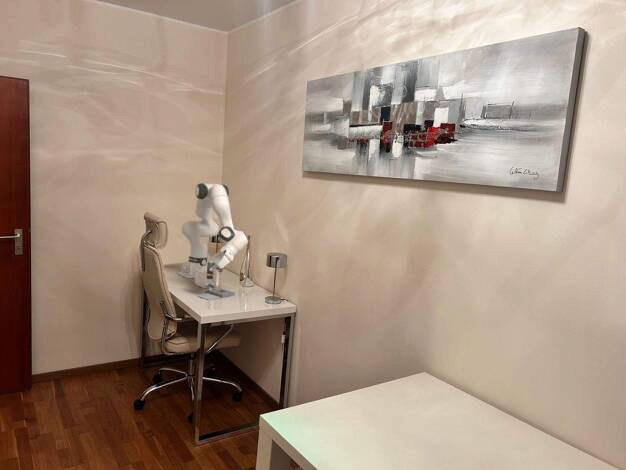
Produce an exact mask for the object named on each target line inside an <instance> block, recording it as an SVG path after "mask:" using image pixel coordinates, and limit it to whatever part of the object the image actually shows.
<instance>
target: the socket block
mask: <svg viewBox="0 0 626 470" xmlns="http://www.w3.org/2000/svg"><path fill="white" fill-rule="evenodd" d="M235 293H236V292H234V291H231V290H227V289H224V288H222V287H221V288H220V287H214V288H213V287H212V288H208V289H206V294H212V295H215V296H218V297H220V298H219V299H224V298H230V297H234V296H235Z"/></svg>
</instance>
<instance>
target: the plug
mask: <svg viewBox="0 0 626 470" xmlns="http://www.w3.org/2000/svg"><path fill="white" fill-rule="evenodd" d="M212 266H214V263H213V261H211V260H207V273H206V275H207V279H213V275H214V273H213V271H210V270H209V269H210V268H211V267H212Z"/></svg>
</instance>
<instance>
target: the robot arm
mask: <svg viewBox="0 0 626 470" xmlns="http://www.w3.org/2000/svg"><path fill="white" fill-rule="evenodd" d="M194 193H195V197H196V198H197V199H196V206H195V210H194V212H195V215H196V216H197V217H198V218H200V219H201V220H200V221H199V220H197V221H196V220H190V221H185V222H183V224H182V225H181V233H182V235H183V236H184V237H186V239H187V240H188V242H189V244H190V245H189V246H190V256H188V261H187V262H185V263H184V264H182V266H181V268H180V269H181V270H180V271H178V272H177V275H180V276H182V277H183V278H187V279H195V269H196V268H201V269H203V270H207V265H208V246H207V244H206V243H205V242H203V241H201V238H212V237H215V236H217V235H218V237H219V240H220V241H221V242H222V243H223V246H222V247H221V248H220V249H219V251H217V252H216V253H215V254H214V255H212V256H211V258H209V261H213V263H214V266H212V267H211V268H210V269H209V270H210V271H213V270H214V269H216V270H217V268H218V269H220V270H222V269H223V268H225V267H227V265H229V263H230V262H233V261H234V258H235V256H237V254H238V253H239V252H241V251H242V250H244V248H245V247H246V246H247V244H248V243H249V241H250V240H249V237H248V236H247V235H246V233H245V231H242V230H236V229H235V226H234V223H233V220H232V212H231V207H230V206H231V205H230V200H229V195H230V190H229V187H228V186H227V185H225V184H220V183H204V182H203V183H202V182H201V183H198V184H197V185H196V186H195V189H194ZM213 212H214V213H215V215H216V216H217V217H218V219H219V220H220V223H221V224H222V226H223V227H222V228H220V229H219V226H218V223H216V222H215V220H214V219H213Z"/></svg>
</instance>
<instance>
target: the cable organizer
mask: <svg viewBox="0 0 626 470" xmlns="http://www.w3.org/2000/svg"><path fill="white" fill-rule="evenodd" d="M206 273H207V270H203V269H201V268H196V269H195V278H194V284H195V285H196V286H197V287H200V288H201V289H208V287H205V286H203V285H207V286H210V287H212V288H218V286H219V279H220V277H219V275H220V271H219V270H218V269H217V268H216V269H214V270H213V273H214V275H213V279H207V275H206Z"/></svg>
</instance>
